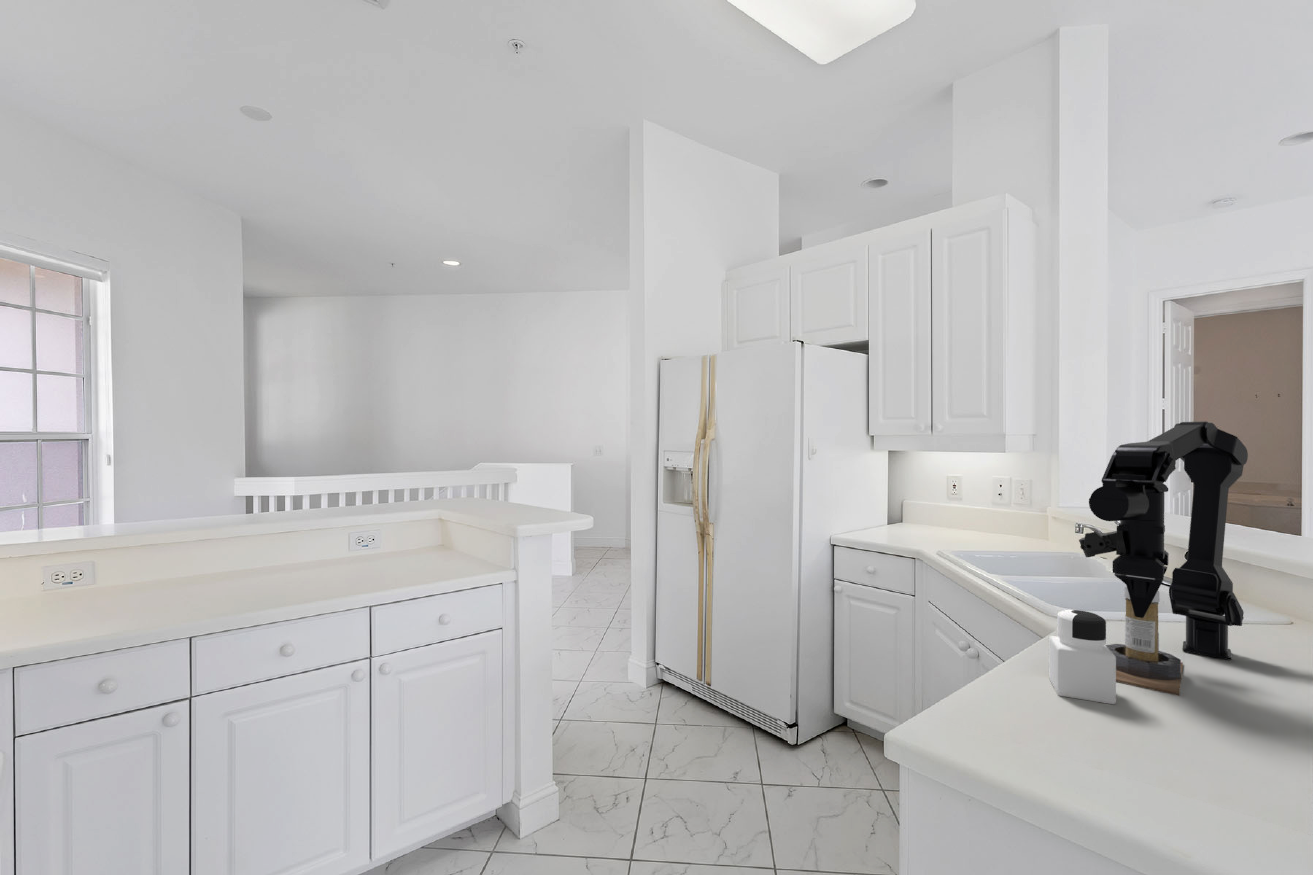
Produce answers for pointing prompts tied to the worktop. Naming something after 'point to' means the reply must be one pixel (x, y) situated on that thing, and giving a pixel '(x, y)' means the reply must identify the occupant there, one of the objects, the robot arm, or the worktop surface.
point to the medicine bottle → (1082, 658)
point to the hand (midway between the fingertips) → (1141, 611)
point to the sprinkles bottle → (1142, 631)
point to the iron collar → (1147, 664)
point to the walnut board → (1151, 682)
